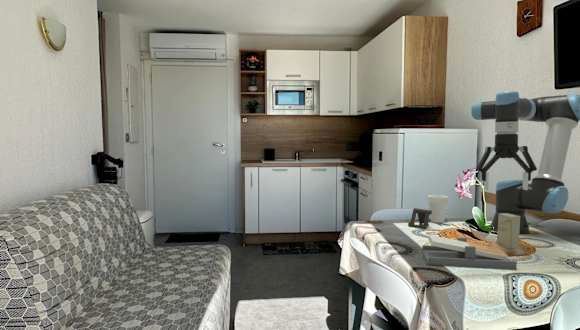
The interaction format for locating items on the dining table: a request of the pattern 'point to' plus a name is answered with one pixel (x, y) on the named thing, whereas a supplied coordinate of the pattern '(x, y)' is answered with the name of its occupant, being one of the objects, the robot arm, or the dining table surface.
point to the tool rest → (514, 251)
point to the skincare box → (508, 230)
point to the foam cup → (437, 207)
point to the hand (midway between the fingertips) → (505, 189)
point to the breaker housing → (463, 257)
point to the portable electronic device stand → (420, 218)
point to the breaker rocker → (460, 245)
